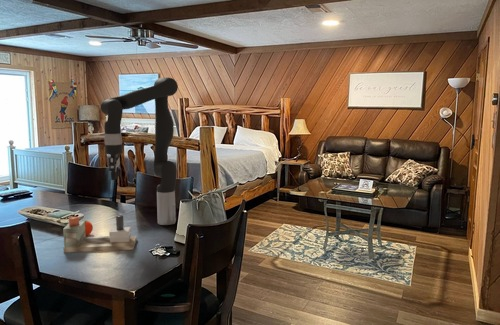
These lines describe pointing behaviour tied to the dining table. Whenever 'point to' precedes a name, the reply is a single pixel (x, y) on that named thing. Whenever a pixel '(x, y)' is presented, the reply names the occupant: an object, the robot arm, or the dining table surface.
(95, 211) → the dining table surface
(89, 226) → the clementine
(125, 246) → the rail base
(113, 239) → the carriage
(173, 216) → the robot arm
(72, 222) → the button
